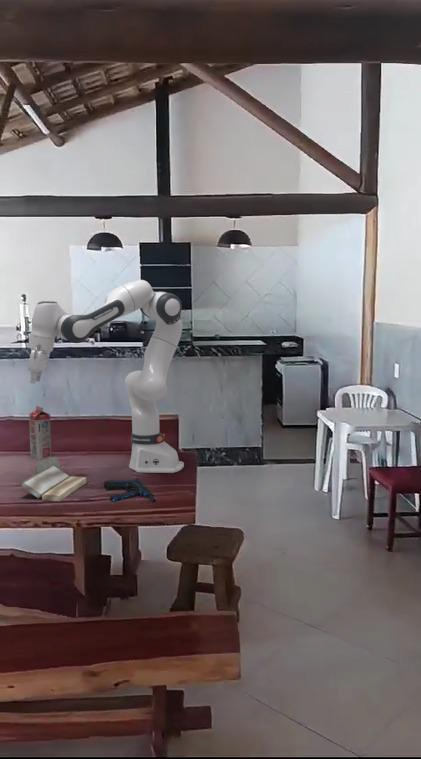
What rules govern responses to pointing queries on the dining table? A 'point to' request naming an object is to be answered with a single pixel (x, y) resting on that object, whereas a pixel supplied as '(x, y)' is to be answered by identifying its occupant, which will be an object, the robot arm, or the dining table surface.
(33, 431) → the carton
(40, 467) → the stone slab
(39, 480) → the board
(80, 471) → the dining table surface
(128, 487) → the gun
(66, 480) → the thin beige board
